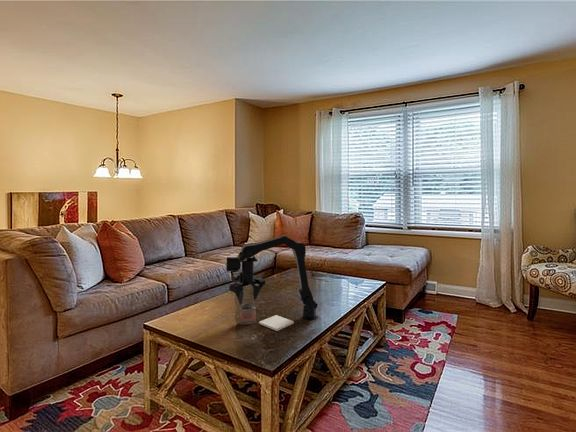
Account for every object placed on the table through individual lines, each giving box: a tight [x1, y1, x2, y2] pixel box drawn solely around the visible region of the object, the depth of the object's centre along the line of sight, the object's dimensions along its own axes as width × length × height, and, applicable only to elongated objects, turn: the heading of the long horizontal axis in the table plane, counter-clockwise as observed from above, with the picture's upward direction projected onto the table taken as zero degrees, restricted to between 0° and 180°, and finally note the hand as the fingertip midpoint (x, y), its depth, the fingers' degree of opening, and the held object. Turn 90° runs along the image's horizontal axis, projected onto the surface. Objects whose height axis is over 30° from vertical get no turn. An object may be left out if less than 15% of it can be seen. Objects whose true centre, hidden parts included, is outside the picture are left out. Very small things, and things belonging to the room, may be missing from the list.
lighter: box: [239, 302, 257, 325], centre depth 169 cm, size 8×3×10 cm, turn 105°
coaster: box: [258, 314, 295, 332], centre depth 169 cm, size 12×12×1 cm
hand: (247, 301), depth 168 cm, fingers open, 9 cm apart
